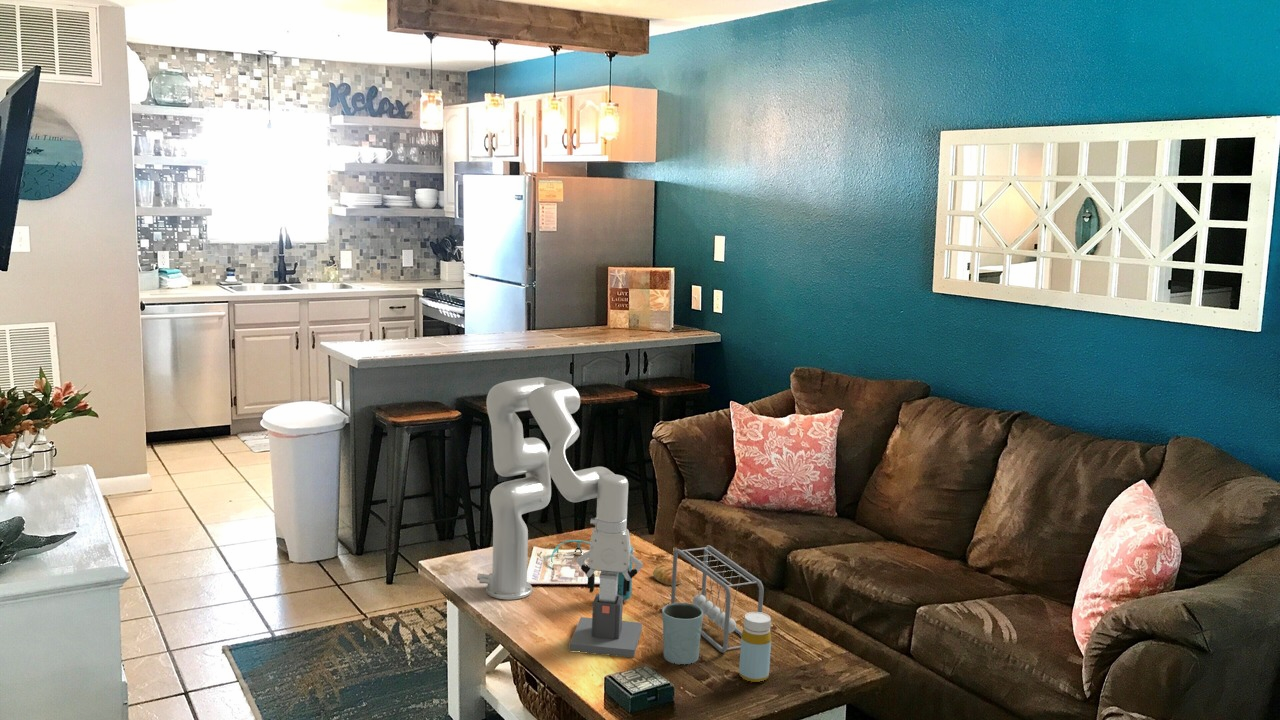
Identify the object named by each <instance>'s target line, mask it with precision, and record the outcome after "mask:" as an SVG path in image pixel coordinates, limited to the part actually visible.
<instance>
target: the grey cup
mask: <svg viewBox="0 0 1280 720" xmlns="http://www.w3.org/2000/svg"><path fill="white" fill-rule="evenodd" d="M661 615H662V616H661V618H662V633H663V634H662V636H663V637H662V638H663V640H662V642H663V648H662V650H663V658H664V660H665V661H667V662H669V663H670V664H674V663H675V665H680V664H684V665H685V664H688V665H692V664H695V663H697V662H698V660H699V655H700V643H701V642H700V641H701V635H700V634H701V630H702V627H703V621H704V620H703V619H704V614H703V610H702V609H701V608H700V607H698V606H696V605H693V603H687V602H675V603H672V604H671V603H669V604H666V605H664V606H663V607H662V610H661ZM691 663H692V664H691ZM684 665H683V666H684ZM685 666H686V665H685Z"/></svg>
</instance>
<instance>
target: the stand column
mask: <svg viewBox="0 0 1280 720" xmlns="http://www.w3.org/2000/svg"><path fill="white" fill-rule="evenodd" d="M599 573H600V574H599V593H598V594H599V602H601V603H613V604H617V590H618V574H619V572H607V571H600V572H599Z"/></svg>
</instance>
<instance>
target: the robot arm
mask: <svg viewBox="0 0 1280 720" xmlns="http://www.w3.org/2000/svg"><path fill="white" fill-rule="evenodd" d="M580 406H581V396H580V394H579V391H578V390H577V389H576V387H575V386H573V385H572V384H570V383H569V382H566V381H562V380H557V379H553V378H549V377H542V376H539V377H530V378H522V379H513V380H507V381H503V382H499V383H497V384H495V385H493V386H492V387H491V388H490V389H489V391H488V394H487V396H486V409H487V415H488V418H489V423H490V426H491V443H492V444H491V445H492V459H493V466H494V467H493V468H494V470H495V472H496V474H497V475H499V476H500V477H507V478H508V477H514V476H519V475H525V477H523V478H522V477H521V478H515V479H512V480H508V481H504V482H503V481H502V482H501V483H499V484H497V485H496V486H494V488H493V489H492V490H491V492H490V496H489V500H490V501H489V502H490V508H491V514H492V521H493V522H492V526H493V527H492V529H493V530H492V573H489V574H485V573H479V572H478V574H477V578H476V579H477V581H479V584H485V585H486V584H487V585H486V593H487V594H488V595H489V596H490V597H493V598H494V599H499V600H505V601H506V600H508V601H509V600H510V601H511V600H520V599H524V598H526V597H528V596H529V595H531V593H532V592H533V586H532V584H531V583H529V582H528V580H527V579H528V551H529V550H528V547H529V546H528V544H529V533H528V532H529V530H528V527H527V524H526V523H525V521H524V519H523V517H522V515H524V514H527V513H530V512H531V513H532V512H535V511H540V510H543V509H545V508H546V507H547V506H548V505H549V503H550V501H551V497H552V480H553V483H554V485H555V486H556V489H558V492H560V494H561V495H562V497H564V498H565V499H566V500H567V501H568V502H571V503H580V502H583V501H587V500H591V499H596V517H594V518H590V522H589V523H590V525H593V526H594V528H593V529H592V532H591V536H590V540H589V542H590V544H589V550H588V551H586V552H585V553H583V555H582V554H581V555H580V556H578V557H576V563H577V564H578V566H579V567H580V569H581V570H582V572H583V573H584V574H585V575H586V577H587V589H589V593H590V594H591V593H593V592H594V590H595V580H596V579H595V578H596V577H595V576H596V575H595V572H596V571H599V572H601V571H607V572H619V573H623V575H624V577H625V578H624V583H623V595H624V596H626V594H627V591H630V579H631V578H632V577H633V578H634V577H635V576H636V575H637V574H638V573H639V572H640V571H641V570H642V568H643V566H644V562H642V561H641V560H640V559H638V558H637V557H636V556H635V555H634V554H633V555H632V554H631V546H632V545H631V534H630V535H629V533H630V530H629V529H628V528H627V526H628V525H627V524H628V502H629V501H628V500H629V481H628V479H627V477H626V476H624V475H621V474H615V473H614V472H613V471H611V470H610V469H609V468H607V467H604V466H595V467H589V468H584V469H578V470H575V471H574V470H573V468H572V466H571V465H570V464H569V461H568V460H567V456H566V450H567V449H569V448H570V446H572V445H573V444H574V443H575V442H576V441H577V440H578V438H579V437H580V434H581V432H580V431H581V429H580V428H579V426H578V424H577V423H576V421H575V420H574V418H573V416H572V414H575V413H576V412H578V410H580ZM525 411H530V413H531V414H532V416H533V419H535V421H536V423H537V424H538V426H539V428H540V430H541V432H542V433H543V435H544V437H545V438H546V440H547V441H548V443H549V446H550V449H549V450H548V448H547V446H546V444H545V442H544V441H543V440H541V439H540V438H537V437H525V438H524V428H523V423H522V420H521V419H520V418H519V416H518V414H517V412H525ZM551 479H552V480H551ZM630 545H631V546H630ZM587 559H588V563H586V562H585V560H587ZM630 561H631V562H632V565H633V564H634V565H635V567H633V568H632V570H631V571H630V570H629V565H630ZM633 578H632V579H633Z"/></svg>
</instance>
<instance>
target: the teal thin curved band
mask: <svg viewBox="0 0 1280 720" xmlns="http://www.w3.org/2000/svg"><path fill="white" fill-rule="evenodd" d="M573 542H575V543H577V547H576V548H575V550H574V552H577V550H579V552H580V554H581V553H582V552H583V551H582V548H581V543H583V544H584V543H585V544H588V545H590V541H587V540H582V539H570V540H565V541H563V542H560V543H559V544H558V545H556V546H555V548H554V549H553V551H552V554H551V557H550V558H551V559H550V560H551V561H550V562H552V563H553V556H554V555H555V553H556V554H557V553H559V547H560V546H561V545H564V544H567V543H573ZM552 563H551V564H552ZM553 564H554V563H553Z"/></svg>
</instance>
